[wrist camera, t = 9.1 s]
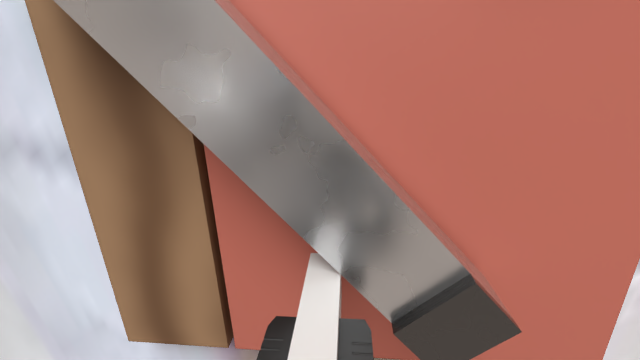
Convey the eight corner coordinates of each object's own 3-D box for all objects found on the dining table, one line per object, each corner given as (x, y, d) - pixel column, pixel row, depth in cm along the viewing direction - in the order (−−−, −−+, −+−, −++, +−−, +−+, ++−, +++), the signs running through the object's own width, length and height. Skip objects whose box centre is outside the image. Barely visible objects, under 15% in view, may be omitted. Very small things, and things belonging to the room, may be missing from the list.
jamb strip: (152, 313, 22) (126, 343, 20) (6, -245, 13) (-81, -326, 10) (241, 318, 22) (226, 350, 19) (158, -270, 12) (105, -364, 9)
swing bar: (-1, -87, 12) (-160, -163, 8) (52, -207, 11) (-112, -364, 7) (414, 318, 16) (433, 389, 13) (490, 271, 15) (537, 335, 11)
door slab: (248, 318, 22) (211, 404, 16) (169, -272, 12) (6, -586, 6) (567, 336, 19) (656, 443, 14) (785, -374, 10) (1392, -1008, 4)
